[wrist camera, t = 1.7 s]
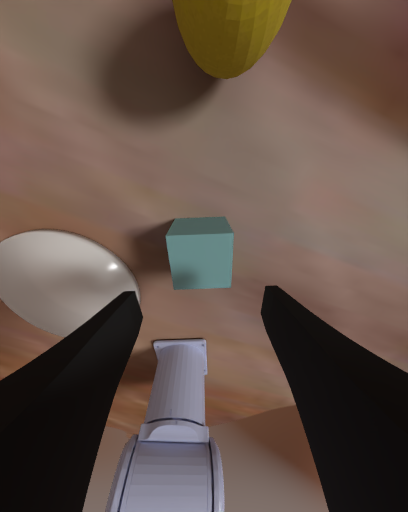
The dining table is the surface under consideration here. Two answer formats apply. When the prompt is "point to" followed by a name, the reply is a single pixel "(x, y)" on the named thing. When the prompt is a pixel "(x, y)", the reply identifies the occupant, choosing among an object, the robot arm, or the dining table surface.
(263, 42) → the lemon
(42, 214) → the dining table surface
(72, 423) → the robot arm
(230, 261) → the cube
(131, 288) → the plate
